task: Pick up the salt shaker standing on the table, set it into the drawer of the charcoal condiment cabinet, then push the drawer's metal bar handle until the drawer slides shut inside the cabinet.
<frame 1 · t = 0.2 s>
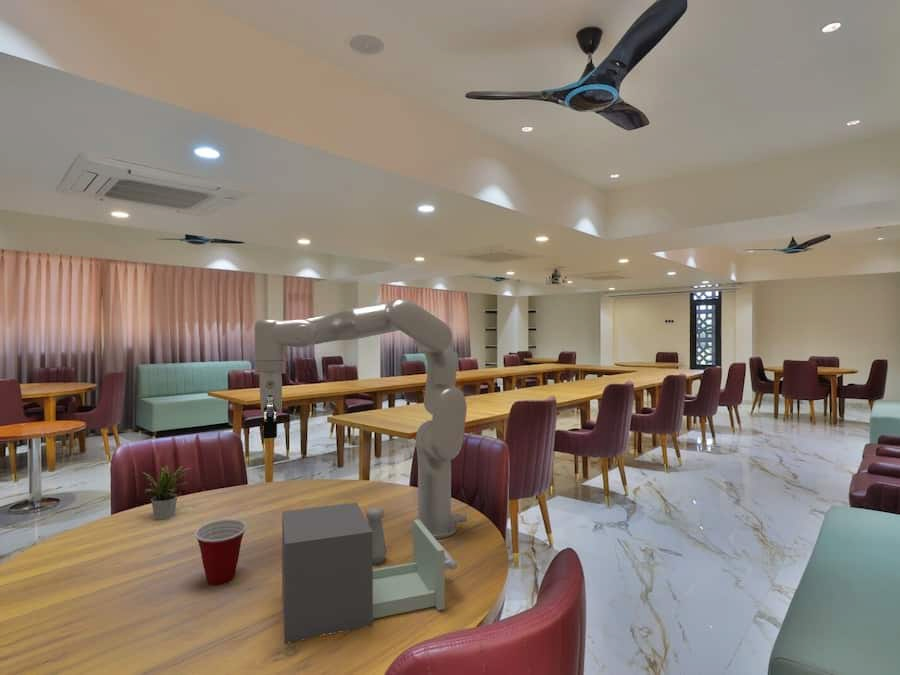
hand: (270, 434, 124), 31 cm above the table, tool pointing down, fingers open, 9 cm apart
cabinet: (324, 609, 99), on the table
salt shaker: (375, 561, 120), on the table
drawer: (404, 565, 105), point 6 cm above the table, slide at 13.0 cm
house plant: (168, 518, 150), on the table
plastic cup: (221, 580, 111), on the table
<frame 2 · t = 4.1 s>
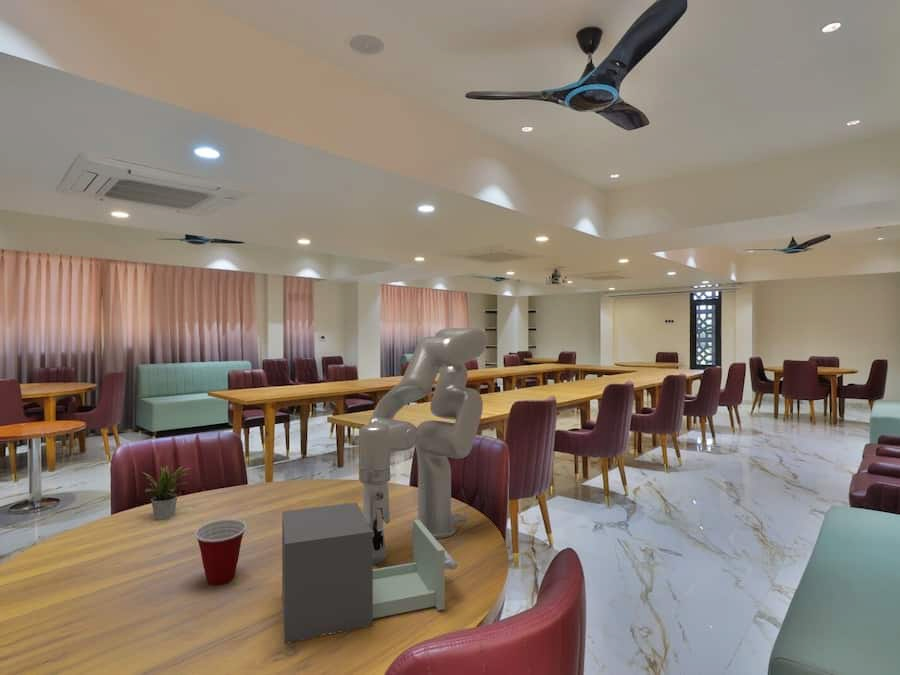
hand: (374, 548, 120), 3 cm above the table, tool pointing down, fingers closed on salt shaker, 3 cm apart
salt shaker: (374, 561, 120), on the table, touching gripper
everything else where it was.
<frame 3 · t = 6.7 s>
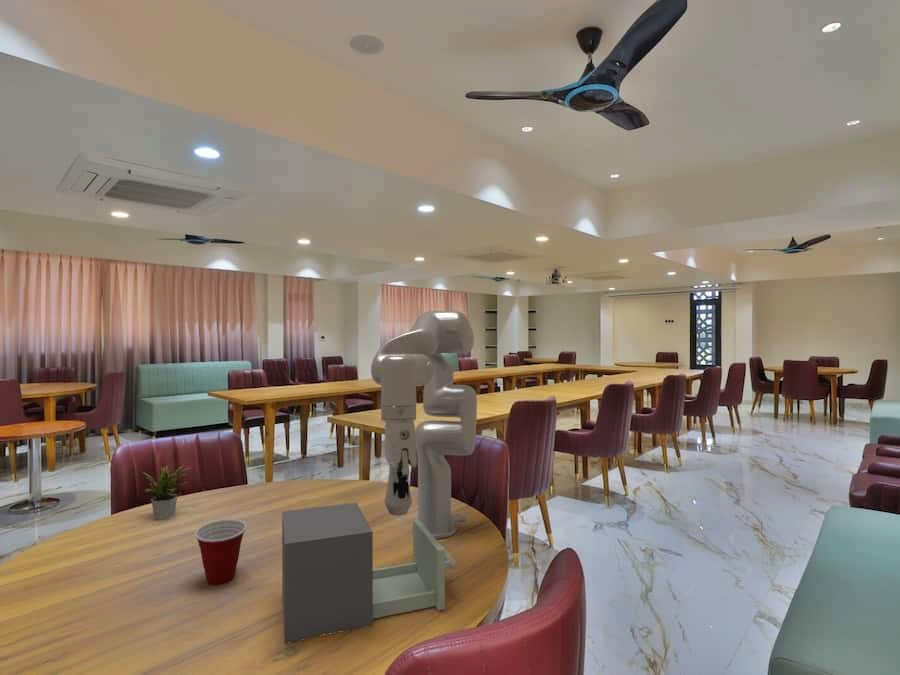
hand: (398, 497, 104), 21 cm above the table, tool pointing down, fingers closed on salt shaker, 3 cm apart
salt shaker: (398, 513, 104), point 18 cm above the table, touching gripper
everything else where it was.
when the fingers open (6 cm above the table, at t = 9.3 s): salt shaker stays where it is, resting on drawer.
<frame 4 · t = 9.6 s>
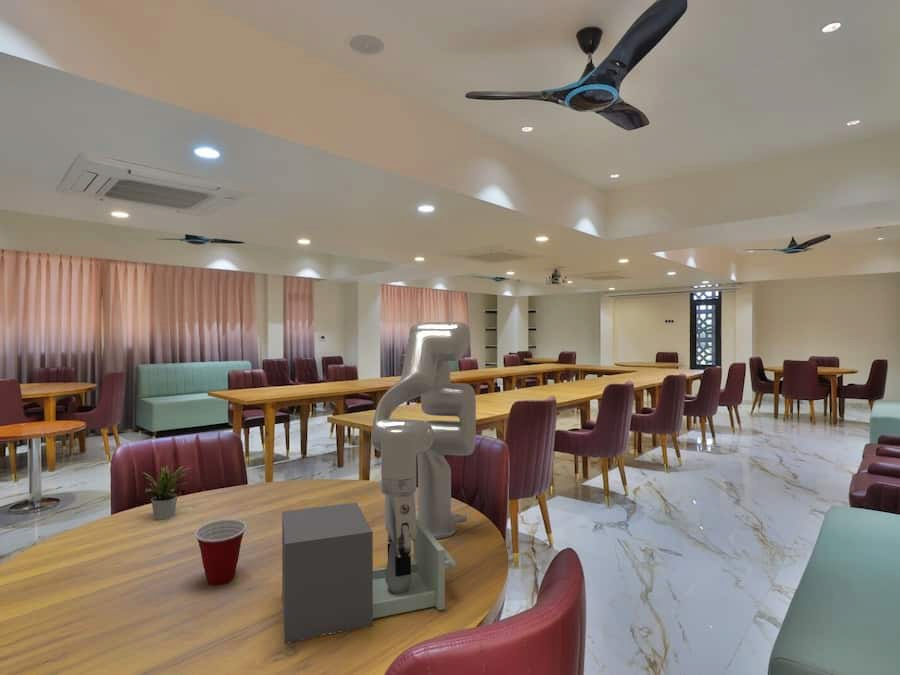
hand: (398, 566, 104), 6 cm above the table, tool pointing down, fingers open, 6 cm apart
salt shaker: (398, 589, 104), point 1 cm above the table, touching drawer
drawer: (404, 565, 105), point 6 cm above the table, slide at 13.0 cm, touching salt shaker
everything else where it was.
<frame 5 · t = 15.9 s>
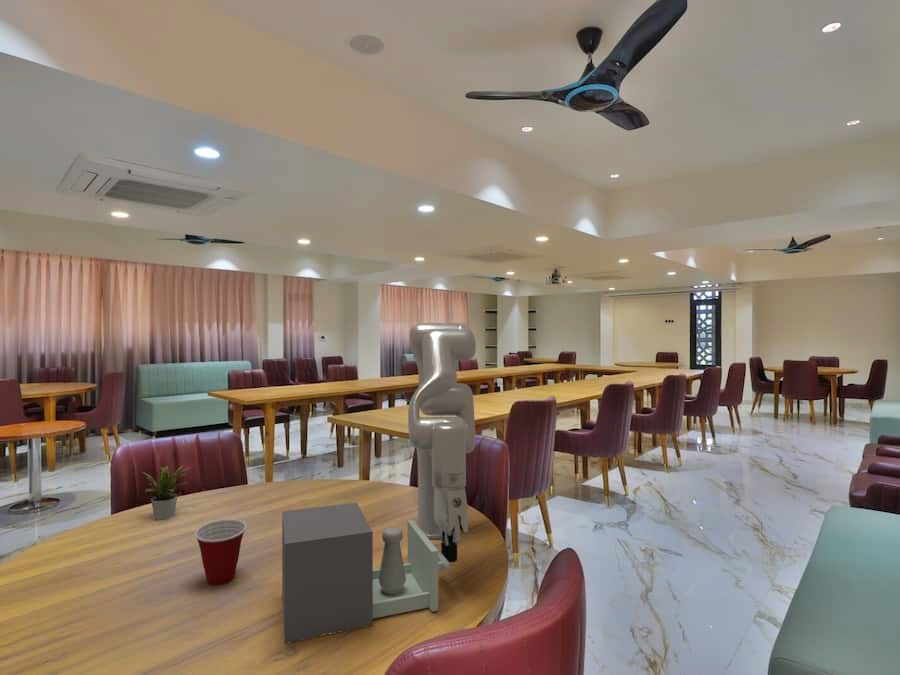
hand: (449, 560, 108), 6 cm above the table, tool pointing down, fingers closed
salt shaker: (392, 591, 104), point 1 cm above the table, touching drawer
drawer: (397, 566, 104), point 6 cm above the table, slide at 11.6 cm, touching gripper, salt shaker
everything else where it was.
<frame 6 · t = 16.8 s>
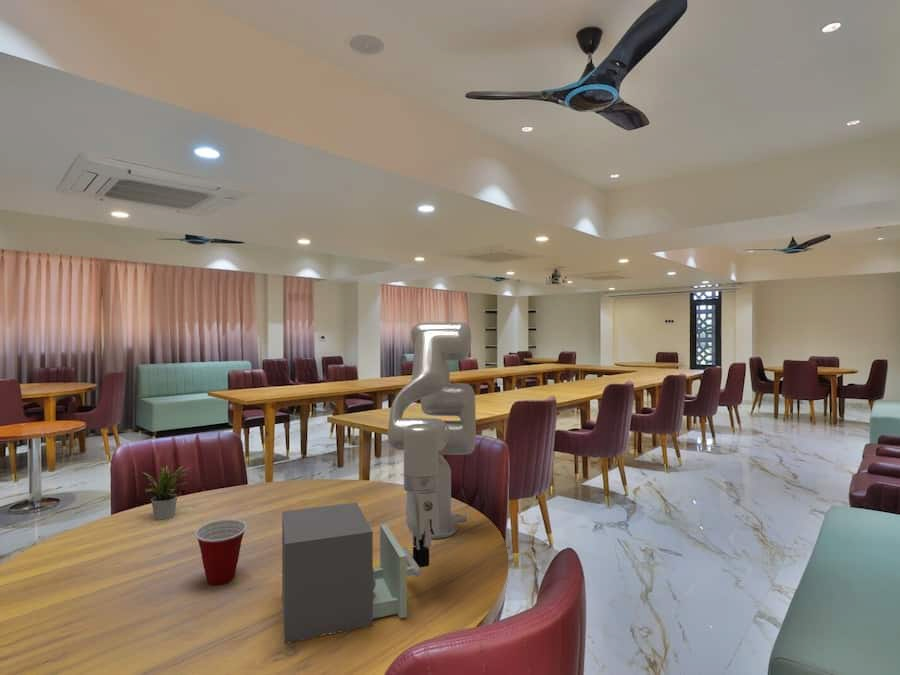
hand: (421, 565, 106), 6 cm above the table, tool pointing down, fingers closed
salt shaker: (361, 596, 101), point 1 cm above the table, touching drawer
drawer: (367, 571, 102), point 6 cm above the table, slide at 5.1 cm, touching gripper, salt shaker
everything else where it was.
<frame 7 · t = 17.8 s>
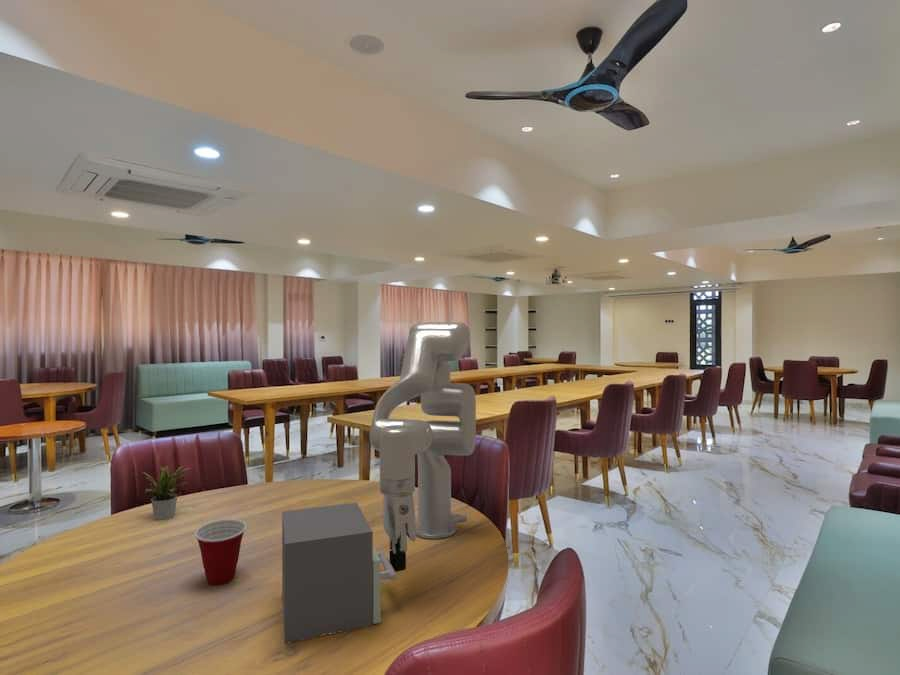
hand: (397, 569, 104), 6 cm above the table, tool pointing down, fingers closed
salt shaker: (336, 601, 100), point 1 cm above the table, touching drawer
drawer: (342, 575, 100), point 6 cm above the table, slide at -0.2 cm, touching gripper, salt shaker
everything else where it was.
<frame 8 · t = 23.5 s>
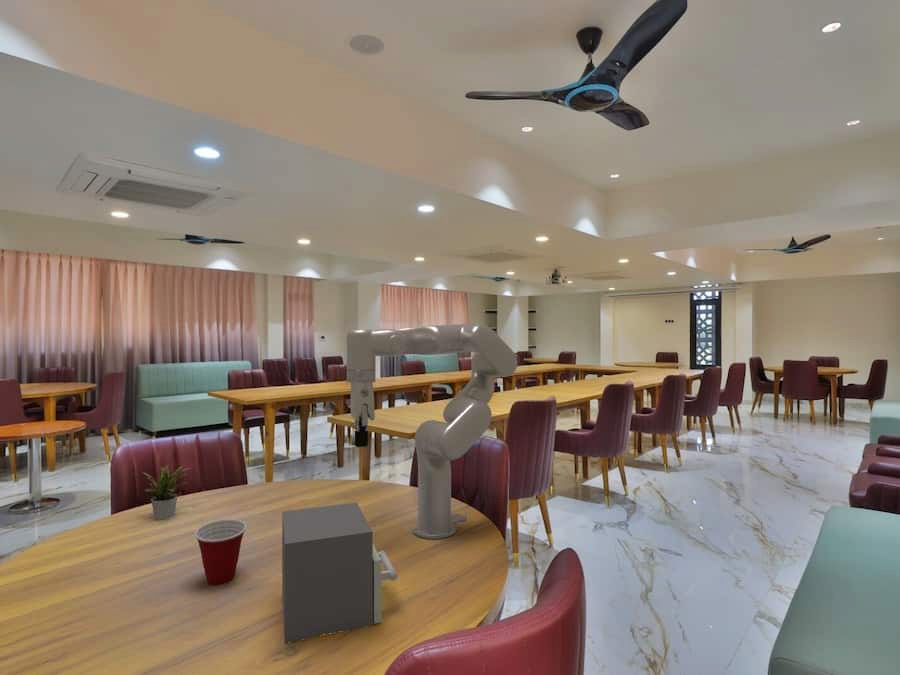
hand: (361, 446, 127), 27 cm above the table, tool pointing down, fingers closed
drawer: (343, 575, 100), point 6 cm above the table, slide at 0.0 cm, touching salt shaker
everything else where it was.
at the end: drawer slide at 0.0 cm; salt shaker inside the target area on the cabinet (2.0 cm from its centre), point 1.1 cm above the cabinet's base; salt shaker tilted 0° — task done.
